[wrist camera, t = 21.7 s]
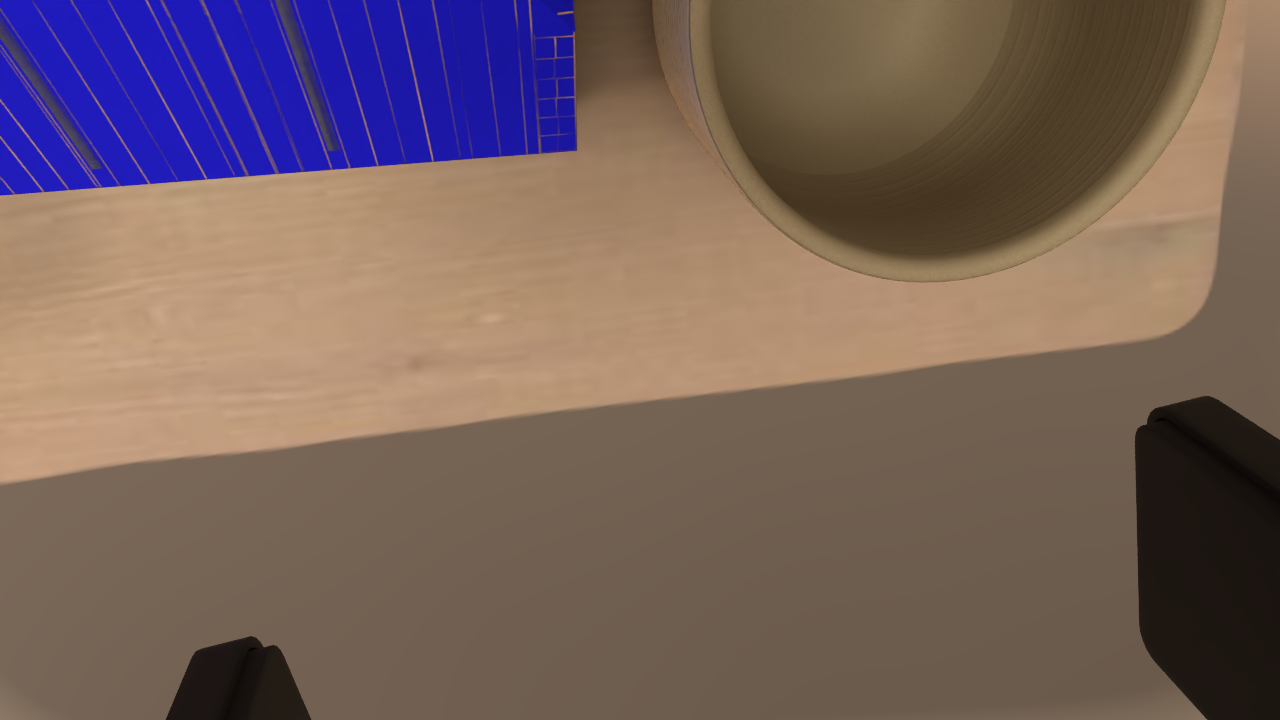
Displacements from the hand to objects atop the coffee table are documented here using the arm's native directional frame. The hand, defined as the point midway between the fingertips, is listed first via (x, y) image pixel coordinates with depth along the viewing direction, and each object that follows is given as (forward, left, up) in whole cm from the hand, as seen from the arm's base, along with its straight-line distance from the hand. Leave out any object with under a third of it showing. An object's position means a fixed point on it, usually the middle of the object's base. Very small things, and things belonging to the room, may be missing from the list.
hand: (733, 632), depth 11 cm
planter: (-2, +13, -38) cm, 40 cm away
